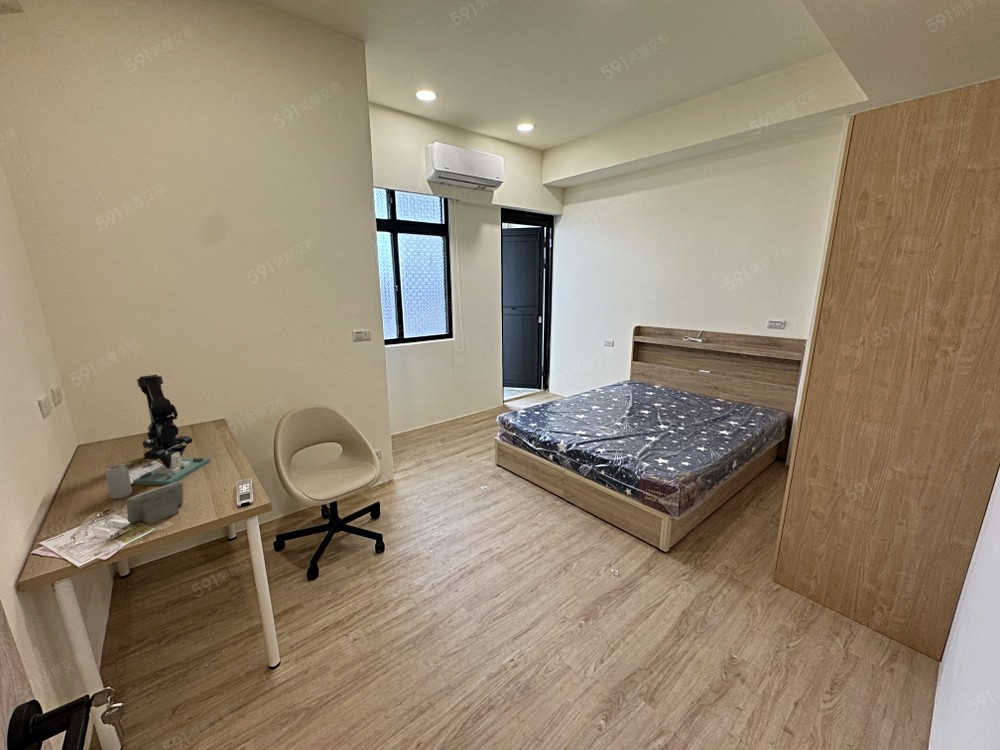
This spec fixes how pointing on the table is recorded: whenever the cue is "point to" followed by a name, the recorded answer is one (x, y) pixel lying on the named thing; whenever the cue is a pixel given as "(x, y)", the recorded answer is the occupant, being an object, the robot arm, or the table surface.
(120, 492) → the beverage can
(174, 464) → the plug
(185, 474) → the board
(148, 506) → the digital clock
